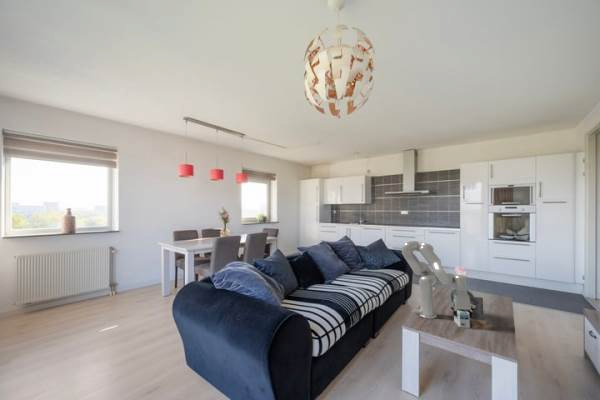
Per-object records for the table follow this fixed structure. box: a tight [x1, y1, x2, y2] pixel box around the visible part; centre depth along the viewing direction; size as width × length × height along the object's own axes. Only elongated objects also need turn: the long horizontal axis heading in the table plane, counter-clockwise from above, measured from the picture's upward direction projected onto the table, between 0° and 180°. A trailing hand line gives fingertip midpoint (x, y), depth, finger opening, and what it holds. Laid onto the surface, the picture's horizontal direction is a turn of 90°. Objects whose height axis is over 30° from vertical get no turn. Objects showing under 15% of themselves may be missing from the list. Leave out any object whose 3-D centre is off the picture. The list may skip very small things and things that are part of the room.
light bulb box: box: [453, 309, 471, 329], centre depth 184 cm, size 11×7×11 cm, turn 168°
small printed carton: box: [466, 296, 493, 331], centre depth 183 cm, size 12×14×18 cm
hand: (462, 316), depth 183 cm, fingers open, 9 cm apart
